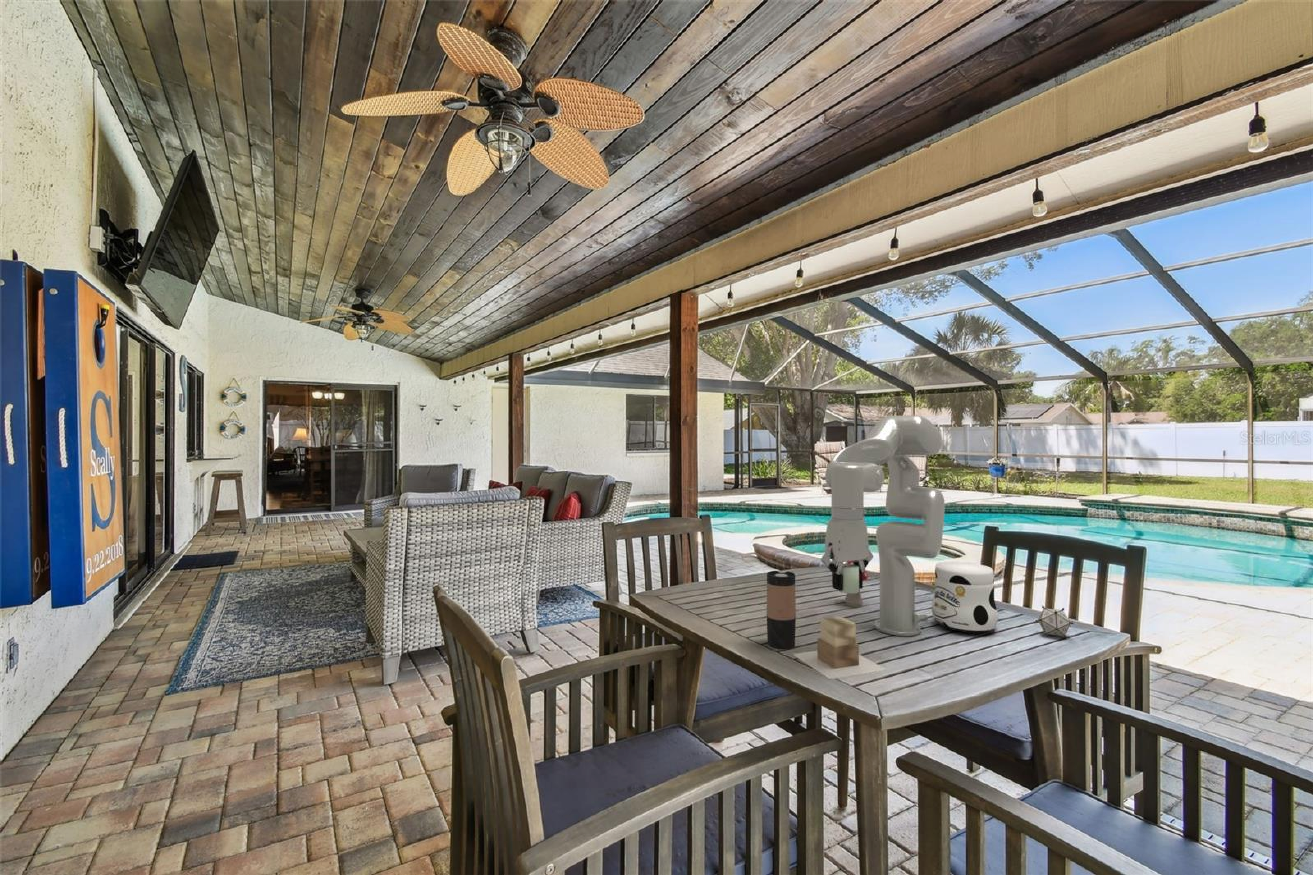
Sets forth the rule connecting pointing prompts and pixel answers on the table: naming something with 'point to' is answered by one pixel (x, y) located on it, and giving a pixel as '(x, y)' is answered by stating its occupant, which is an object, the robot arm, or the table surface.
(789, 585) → the travel mug
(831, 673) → the stone tile
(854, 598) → the decorative mushroom
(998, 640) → the table surface
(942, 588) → the milk container
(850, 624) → the tower top block
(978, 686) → the table surface
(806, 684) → the table surface
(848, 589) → the sage cylinder
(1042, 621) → the beige icosahedron ornament
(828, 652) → the tower base block
